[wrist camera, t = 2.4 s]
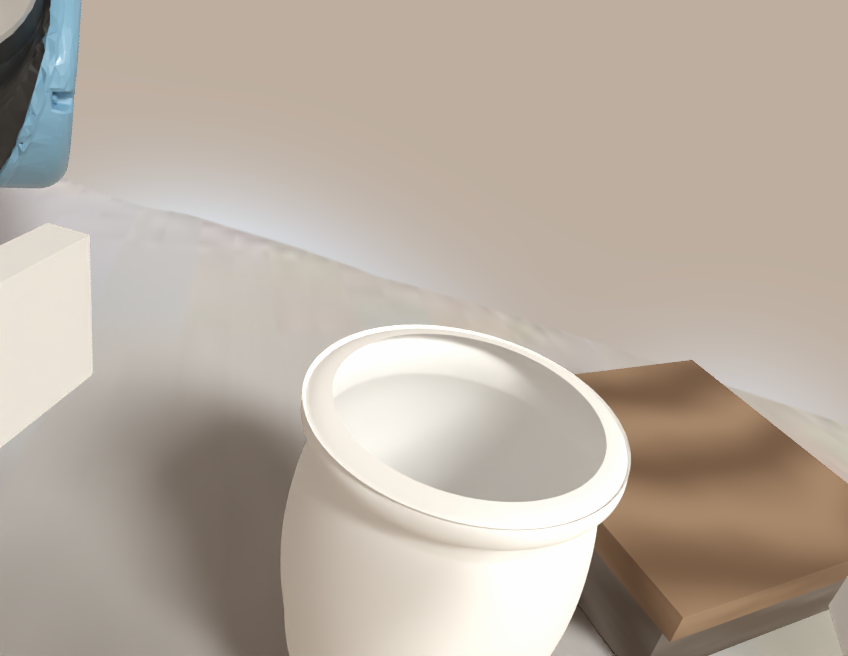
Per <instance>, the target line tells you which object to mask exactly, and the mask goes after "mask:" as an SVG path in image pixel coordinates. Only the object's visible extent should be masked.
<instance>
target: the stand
mask: <svg viewBox="0 0 848 656" xmlns="http://www.w3.org/2000/svg"><path fill="white" fill-rule="evenodd" d="M575 376H577V377H578V378H579V379H581V380H582V381H583V382H584V383H586V384H587V385H588V386H589V387H590V388H592V389H593V390H594V391H595V392H596V393H597V394H598V395H599V396H600V397H601V398H602V399H603V400H604V401H605V402H606V404H607V405H608V406H609V407H610V408H611V410H612V411H613V412H614V414H615V415H616V417H617V418H618V420H619V421H620V423H621V425H622V427H623V429H624V431H625V433H626V436H627V439H628V442H629V446H630V451H631V467H630V472H629V476H628V480H627V484H626V488H625V491H624V493H623V495H622V497H621V499H620V501H619V503H618V504H617V506H616V507H615V509H614V510H613V512H612V513H611V514H610V515H609V516H608V517H607V518H606V519H605V520H604V521H603V522H601V523H600V524H599V525H598V526H597V532H596V539H595V544H594V549H593V554H592V558H591V562H590V566H589V570H588V574H587V577H586V581H585V584H584V587H583V590H582V593H581V596H580V598H579V601H578V605H579V606H580V608H581V609H582V610H583V612H584V613H585V614H586V616H587V617H588V619H589V620H590V621H591V623H592V624H593V625H594V627H595V628H596V629H597V631H598V632H599V633H600V635H601V636H602V637H603V639H604V640H605V642H606V643H607V644H608V646H609V647H610V648H611V650H612V651H613V652H614V654H615V655H616V656H708V655H711V654H713V653H716V652H718V651H721V650H724V649H726V648H729V647H731V646H734V645H737V644H739V643H742V642H744V641H747V640H750V639H752V638H755V637H757V636H760V635H763V634H765V633H768V632H770V631H773V630H776V629H778V628H781V627H783V626H786V625H789V624H791V623H794V622H796V621H799V620H802V619H804V618H807V617H809V616H812V615H815V614H817V613H820V612H822V611H825V610H828V609H829V607H828V605H829V604H830V602H831V601H832V599H833V598H834V596H835V595H836V593H837V591H838V590H839V588H840V587H841V585H842V584H843V582H844V581H845V579H846V578H847V576H848V484H847V483H846V482H845V481H844V480H842V479H841V478H840V477H839V476H837V475H836V474H835V473H834V472H832V471H831V470H830V469H828V468H827V467H826V466H825V465H823V464H822V463H821V462H820V461H818V460H817V459H816V458H815V457H813V456H812V455H811V454H810V453H808V452H807V451H806V450H805V449H803V448H802V447H801V446H800V445H798V444H797V443H796V442H795V441H793V440H792V439H791V438H789V437H788V436H787V435H786V434H784V433H783V432H782V431H781V430H779V429H778V428H777V427H776V426H774V425H773V424H772V423H771V422H769V421H768V420H767V419H766V418H764V417H763V416H762V415H761V414H759V413H758V412H757V411H755V410H754V409H753V408H752V407H750V406H749V405H748V404H747V403H745V402H744V401H743V400H742V399H740V398H739V397H738V396H737V395H735V394H734V393H733V392H732V391H730V390H729V389H728V388H727V387H725V386H724V385H723V384H721V383H720V382H719V381H718V380H716V379H715V378H714V377H713V376H711V375H710V374H709V373H708V372H706V371H705V370H704V369H703V368H701V367H700V366H699V365H698V364H696V363H695V362H694V361H693V360H689V361H681V362H672V363H664V364H656V365H648V366H640V367H632V368H624V369H616V370H608V371H599V372H591V373H583V374H575Z"/></svg>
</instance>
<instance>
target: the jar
mask: <svg viewBox="0 0 848 656" xmlns="http://www.w3.org/2000/svg"><path fill="white" fill-rule="evenodd" d="M301 420H302V426H303V431H304V434H305V438H306V443H305V445H304V447H303V450H302V452H301V455H300V458H299V460H298V463H297V466H296V469H295V473H294V476H293V479H292V483H291V486H290V490H289V494H288V499H287V503H286V508H285V514H284V520H283V527H282V537H281V557H280V566H281V586H282V596H283V603H284V621H285V633H286V641H287V647H288V652H289V656H550V655H551V654H552V652H553V650H554V649H555V647H556V646H557V644H558V642H559V641H560V639H561V637H562V635H563V634H564V632H565V630H566V628H567V626H568V624H569V622H570V620H571V618H572V615H573V613H574V611H575V608H576V606H577V604H578V601H579V598H580V596H581V593H582V590H583V587H584V584H585V581H586V577H587V574H588V570H589V566H590V562H591V558H592V554H593V549H594V544H595V539H596V532H597V526H598V525H599V524H600V523H601V522H603V521H604V520H605V519H606V518H607V517H608V516H609V515H610V514H611V513H612V512H613V510H614V509H615V507H616V506H617V504H618V503H619V501H620V499H621V497H622V495H623V493H624V491H625V488H626V484H627V480H628V476H629V472H630V467H631V451H630V446H629V442H628V439H627V436H626V433H625V431H624V429H623V427H622V425H621V423H620V421H619V420H618V418H617V417H616V415H615V414H614V412H613V411H612V410H611V408H610V407H609V406H608V405H607V404H606V402H605V401H604V400H603V399H602V398H601V397H600V396H599V395H598V394H597V393H596V392H595V391H594V390H593V389H592V388H590V387H589V386H588V385H587V384H586V383H584V382H583V381H582V380H581V379H579V378H578V377H577V376H575V375H574V374H572V373H571V372H569V371H568V370H566V369H565V368H563V367H562V366H560V365H558V364H557V363H555V362H553V361H551V360H549V359H548V358H546V357H544V356H542V355H540V354H538V353H536V352H533V351H531V350H529V349H527V348H524V347H522V346H519V345H517V344H514V343H511V342H509V341H506V340H503V339H500V338H496V337H493V336H490V335H486V334H482V333H478V332H474V331H469V330H464V329H458V328H452V327H444V326H434V325H396V326H387V327H380V328H375V329H370V330H366V331H362V332H359V333H356V334H353V335H350V336H348V337H346V338H343V339H341V340H339V341H338V342H336V343H334V344H333V345H331V346H329V347H328V348H327V349H325V350H324V351H323V352H322V353H321V354H320V355H319V356H318V357H317V358H316V359H315V360H314V361H313V363H312V364H311V366H310V367H309V369H308V371H307V373H306V376H305V379H304V382H303V388H302V402H301Z"/></svg>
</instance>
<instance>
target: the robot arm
mask: <svg viewBox="0 0 848 656" xmlns="http://www.w3.org/2000/svg"><path fill="white" fill-rule="evenodd" d="M80 16H81V0H0V188H45V187H48V186H51V185H53V184H55V183H56V182H58V181H59V180H60V179H61V178H62V177H63V175H64V174H65V172H66V170H67V167H68V161H69V154H70V145H71V133H72V121H73V106H74V94H75V81H76V72H77V61H78V48H79V31H80ZM92 374H93V360H92V316H91V272H90V235H88V234H85V233H81V232H78V231H74V230H71V229H68V228H64V227H61V226H57V225H54V224H50V223H46V224H44V225H42V226H40V227H38V228H36V229H34V230H31V231H29V232H27V233H25V234H23V235H21V236H19V237H17V238H14V239H12V240H10V241H8V242H6V243H4V244H2V245H0V448H1V447H2V446H3V445H4V444H6V443H7V442H8V441H9V440H11V439H12V438H13V437H14V436H16V435H17V434H18V433H19V432H21V431H22V430H23V429H24V428H26V427H27V426H28V425H30V424H31V423H32V422H33V421H35V420H36V419H37V418H38V417H40V416H41V415H42V414H43V413H45V412H46V411H47V410H48V409H50V408H51V407H52V406H53V405H55V404H56V403H57V402H58V401H60V400H61V399H62V398H63V397H65V396H66V395H67V394H69V393H70V392H71V391H72V390H74V389H75V388H76V387H77V386H79V385H80V384H81V383H82V382H84V381H85V380H86V379H87V378H89V377H90V376H91V375H92ZM828 607H829V610H830V613H831V617H832V620H833V623H834V626H835V630H836V633H837V636H838V639H839V643H840V646H841V649H842V653H843V656H848V576H847V578H846V579H845V581H844V582H843V584H842V585H841V587H840V588H839V590H838V591H837V593H836V595H835V596H834V598H833V599H832V601H831V602H830V604H829V605H828Z"/></svg>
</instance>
